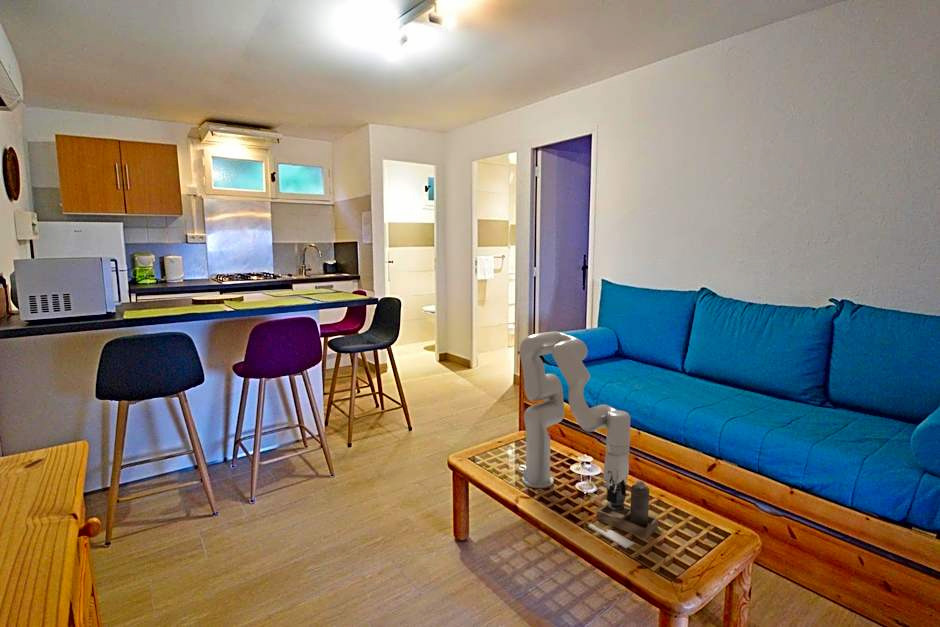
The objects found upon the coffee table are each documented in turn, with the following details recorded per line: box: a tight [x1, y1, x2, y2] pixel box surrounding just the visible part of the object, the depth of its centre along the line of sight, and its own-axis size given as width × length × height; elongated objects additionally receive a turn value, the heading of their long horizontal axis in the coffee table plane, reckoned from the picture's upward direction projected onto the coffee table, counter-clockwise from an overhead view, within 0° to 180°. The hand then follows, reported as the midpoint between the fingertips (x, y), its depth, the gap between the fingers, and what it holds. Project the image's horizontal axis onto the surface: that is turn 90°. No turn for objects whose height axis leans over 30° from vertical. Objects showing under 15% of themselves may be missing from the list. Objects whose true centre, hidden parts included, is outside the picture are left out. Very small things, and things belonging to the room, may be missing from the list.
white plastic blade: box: [587, 523, 636, 549], centre depth 159 cm, size 5×15×1 cm, turn 36°
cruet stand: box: [596, 480, 659, 540], centre depth 164 cm, size 17×9×17 cm, turn 47°
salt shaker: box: [608, 480, 626, 511], centre depth 166 cm, size 6×6×12 cm
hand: (616, 498), depth 167 cm, fingers closed on salt shaker, 5 cm apart
